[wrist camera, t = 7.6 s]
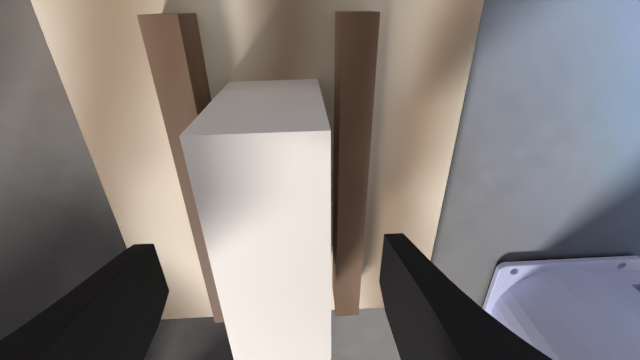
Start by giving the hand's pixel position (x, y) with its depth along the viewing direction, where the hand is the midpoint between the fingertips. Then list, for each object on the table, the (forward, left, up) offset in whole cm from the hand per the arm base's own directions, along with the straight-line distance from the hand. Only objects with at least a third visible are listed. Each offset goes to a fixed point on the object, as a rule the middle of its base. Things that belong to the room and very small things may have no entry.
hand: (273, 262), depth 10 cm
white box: (0, 0, -5) cm, 5 cm away
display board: (0, 0, -7) cm, 7 cm away
